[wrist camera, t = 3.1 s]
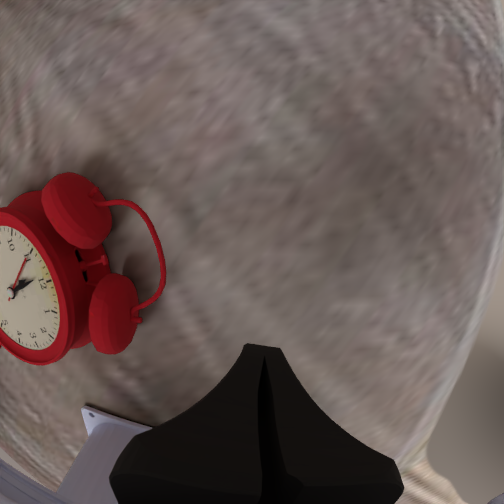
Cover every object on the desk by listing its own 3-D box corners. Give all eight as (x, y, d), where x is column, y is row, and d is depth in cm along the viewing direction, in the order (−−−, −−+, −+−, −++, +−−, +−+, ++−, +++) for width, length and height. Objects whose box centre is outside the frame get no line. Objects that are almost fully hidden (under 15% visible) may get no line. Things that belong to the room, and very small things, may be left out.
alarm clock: (-53, 233, 12) (41, 132, 7) (10, 212, 18) (146, 133, 13) (0, 371, 14) (143, 412, 10) (52, 333, 20) (205, 331, 15)
